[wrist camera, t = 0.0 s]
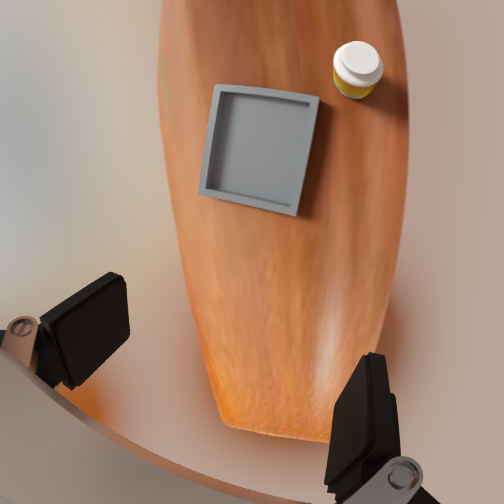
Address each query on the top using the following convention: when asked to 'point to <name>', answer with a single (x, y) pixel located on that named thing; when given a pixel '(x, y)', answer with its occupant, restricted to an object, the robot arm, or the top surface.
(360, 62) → the supplement bottle
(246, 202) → the tray
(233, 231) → the top surface
